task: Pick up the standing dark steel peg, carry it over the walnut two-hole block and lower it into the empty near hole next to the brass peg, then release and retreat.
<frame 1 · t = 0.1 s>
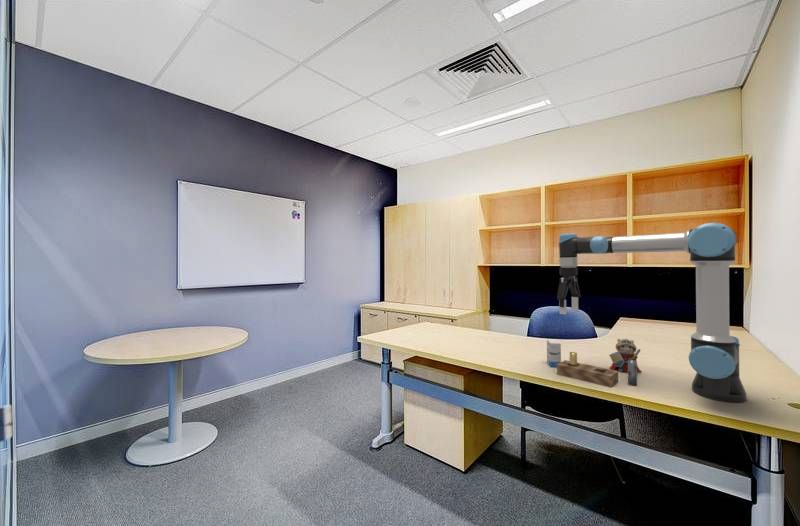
hand: (569, 312, 155), 28 cm above the table, fingers open, 13 cm apart
brass peg: (573, 374, 152), resting in hole block
figurine: (625, 371, 156), on the table
steel peg: (632, 384, 139), on the table
hole block: (586, 377, 148), on the table
ink box: (553, 365, 167), on the table
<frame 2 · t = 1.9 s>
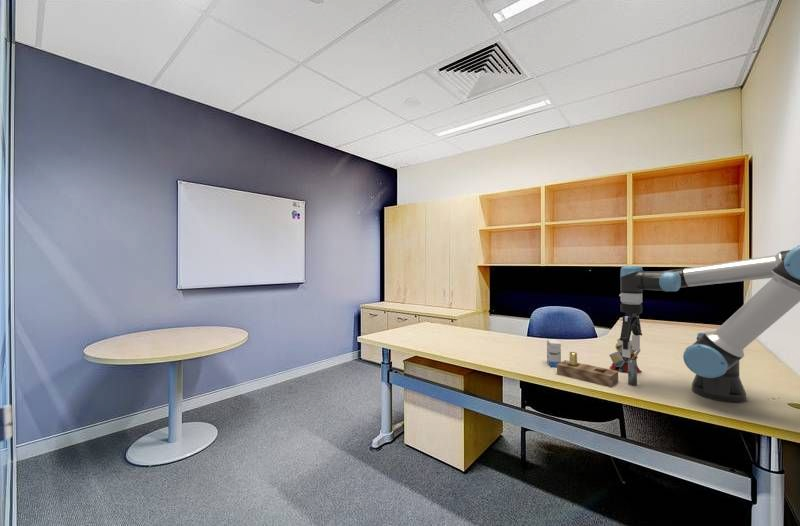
hand: (631, 353, 139), 13 cm above the table, fingers open, 13 cm apart
nothing on the table moved.
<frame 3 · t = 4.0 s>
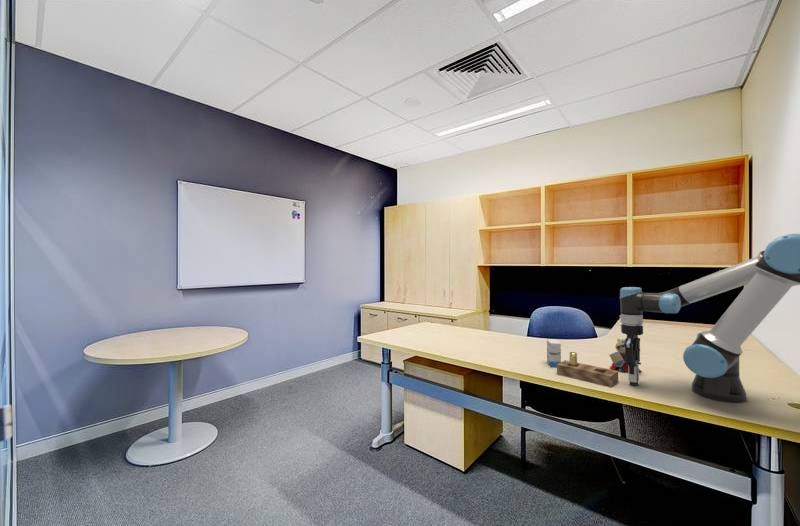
hand: (633, 380, 139), 2 cm above the table, fingers closed on steel peg, 2 cm apart
steel peg: (633, 384, 139), on the table, touching gripper
everything else where it was.
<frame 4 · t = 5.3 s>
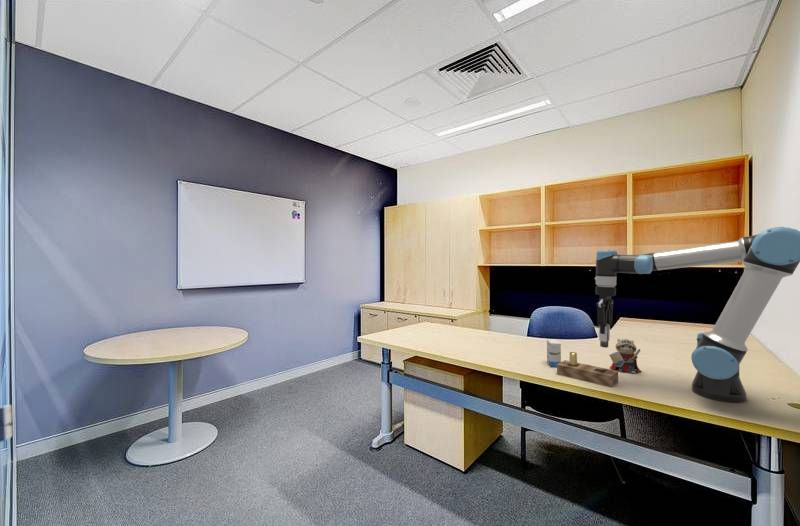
hand: (604, 340, 143), 18 cm above the table, fingers closed on steel peg, 2 cm apart
steel peg: (604, 346, 143), point 15 cm above the table, touching gripper
everything else where it was.
when the fingers open (6 cm above the table, at t = 6.9 s): steel peg drops 3 cm, resting in hole block.
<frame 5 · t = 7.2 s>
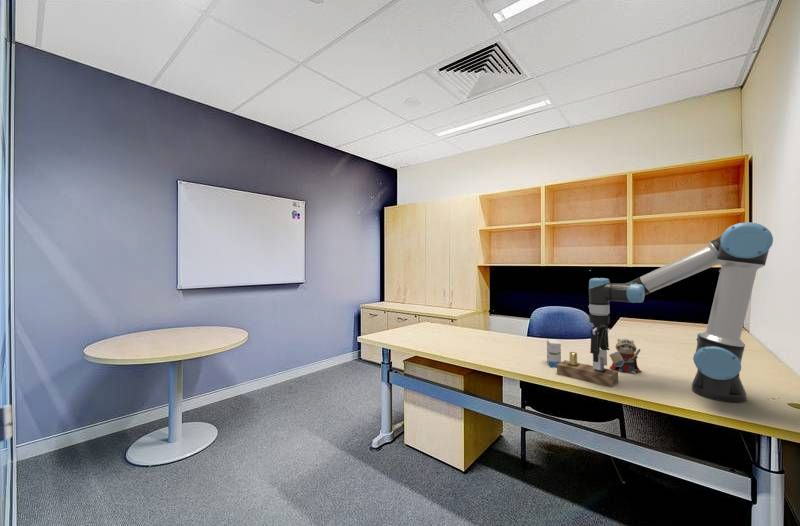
hand: (600, 366, 144), 6 cm above the table, fingers open, 7 cm apart
steel peg: (600, 380, 144), resting in hole block
everything else where it was.
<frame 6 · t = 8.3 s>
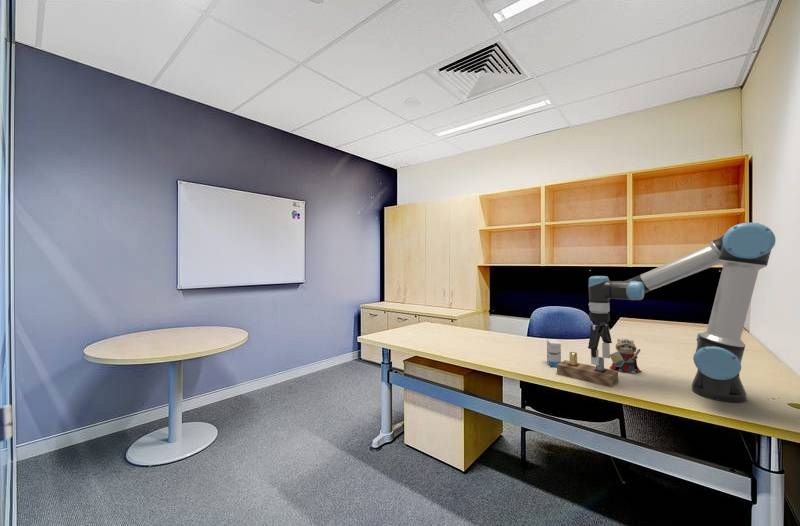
hand: (600, 361, 143), 9 cm above the table, fingers open, 13 cm apart
nothing on the table moved.
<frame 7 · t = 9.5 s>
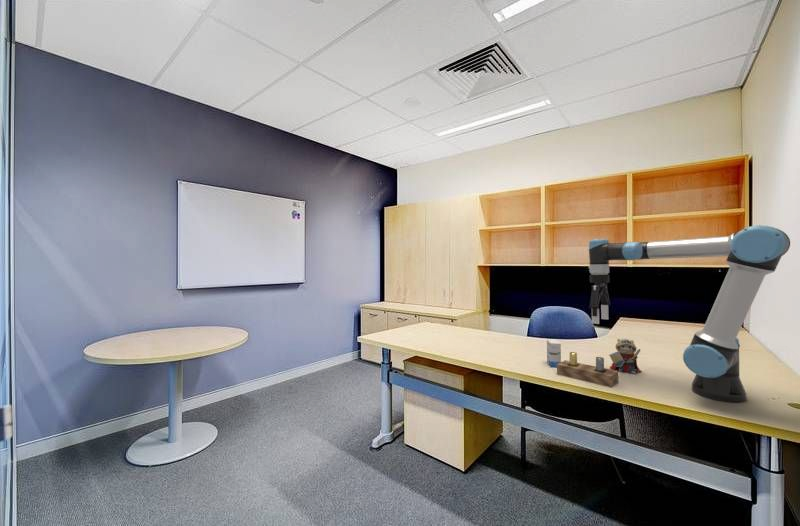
hand: (600, 321, 149), 25 cm above the table, fingers open, 13 cm apart
nothing on the table moved.
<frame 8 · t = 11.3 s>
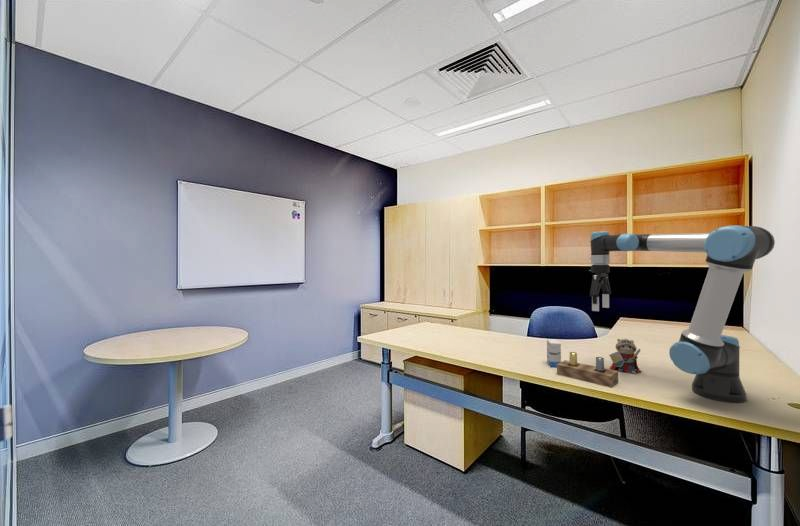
hand: (600, 309, 157), 29 cm above the table, fingers open, 13 cm apart
nothing on the table moved.
at the end: steel peg 0.0 cm from the target spot on the hole block, point 0.0 cm above the hole block's base; steel peg tilted 0°; the gripper is holding nothing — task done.
